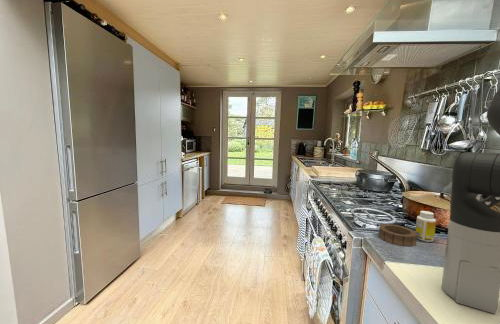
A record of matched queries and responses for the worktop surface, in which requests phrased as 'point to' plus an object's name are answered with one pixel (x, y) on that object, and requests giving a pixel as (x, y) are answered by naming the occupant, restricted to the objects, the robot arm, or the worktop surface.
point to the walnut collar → (397, 235)
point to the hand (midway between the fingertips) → (459, 208)
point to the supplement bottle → (425, 226)
